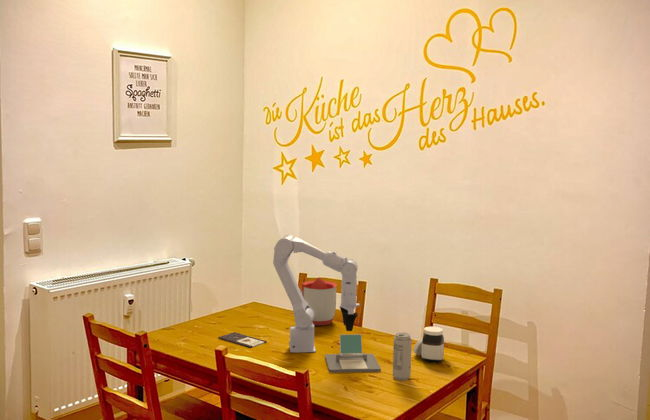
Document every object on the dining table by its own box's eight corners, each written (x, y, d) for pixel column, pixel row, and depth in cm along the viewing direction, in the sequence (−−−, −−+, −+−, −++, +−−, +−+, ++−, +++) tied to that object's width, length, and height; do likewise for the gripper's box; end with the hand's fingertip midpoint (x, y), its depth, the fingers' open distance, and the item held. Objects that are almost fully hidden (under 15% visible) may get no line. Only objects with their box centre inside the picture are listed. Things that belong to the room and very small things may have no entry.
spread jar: (440, 365, 236) (441, 334, 235) (409, 361, 240) (410, 330, 238) (446, 355, 247) (447, 325, 246) (416, 351, 251) (417, 321, 250)
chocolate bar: (234, 332, 270) (266, 341, 259) (234, 334, 270) (266, 343, 259) (218, 337, 263) (250, 346, 252) (218, 339, 263) (250, 349, 252)
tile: (340, 354, 238) (340, 353, 237) (339, 334, 241) (339, 334, 240) (362, 353, 239) (362, 353, 238) (361, 334, 241) (361, 334, 241)
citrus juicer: (295, 317, 294) (296, 273, 292) (334, 317, 296) (334, 273, 294) (297, 328, 279) (298, 281, 276) (338, 327, 281) (339, 281, 278)
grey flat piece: (329, 372, 227) (329, 364, 227) (324, 357, 243) (325, 349, 242) (380, 371, 229) (381, 363, 228) (373, 356, 244) (373, 348, 244)
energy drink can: (413, 379, 222) (415, 336, 220) (397, 382, 219) (398, 338, 218) (405, 373, 227) (406, 331, 225) (389, 375, 225) (390, 333, 223)
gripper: (362, 297, 239) (361, 333, 241) (356, 288, 254) (355, 322, 255) (343, 297, 239) (342, 333, 240) (338, 288, 253) (337, 322, 254)
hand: (348, 328), depth 248 cm, fingers open, 6 cm apart
